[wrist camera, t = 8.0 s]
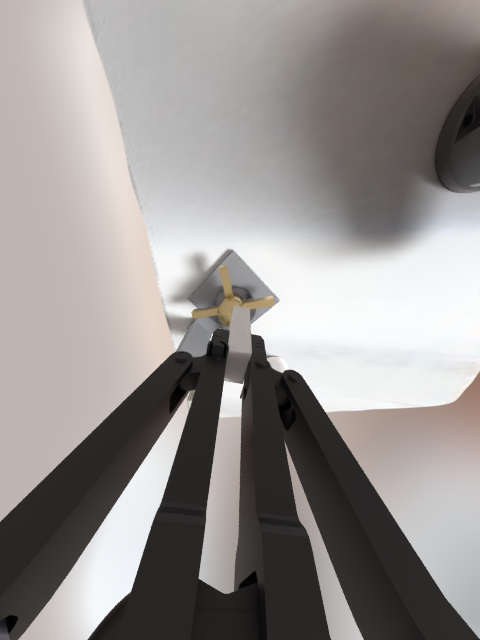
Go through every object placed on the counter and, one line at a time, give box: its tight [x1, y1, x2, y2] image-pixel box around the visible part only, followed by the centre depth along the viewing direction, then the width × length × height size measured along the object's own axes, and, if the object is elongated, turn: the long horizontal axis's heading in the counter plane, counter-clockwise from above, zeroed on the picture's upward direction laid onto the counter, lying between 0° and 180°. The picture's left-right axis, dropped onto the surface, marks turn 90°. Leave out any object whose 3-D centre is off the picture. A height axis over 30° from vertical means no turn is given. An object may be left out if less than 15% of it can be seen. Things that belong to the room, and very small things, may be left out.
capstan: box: [192, 265, 274, 327], centre depth 35 cm, size 17×16×7 cm
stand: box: [176, 250, 280, 357], centre depth 34 cm, size 20×14×14 cm
